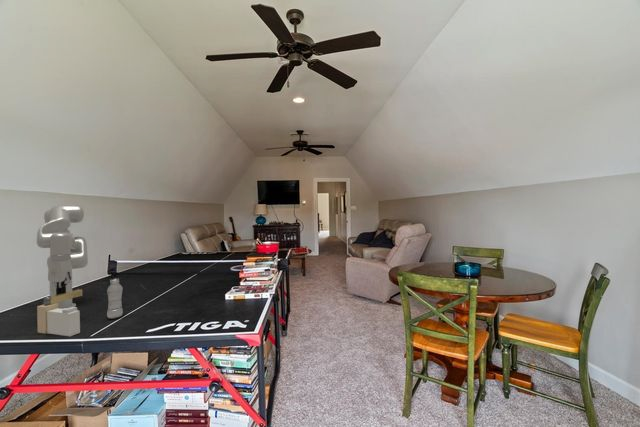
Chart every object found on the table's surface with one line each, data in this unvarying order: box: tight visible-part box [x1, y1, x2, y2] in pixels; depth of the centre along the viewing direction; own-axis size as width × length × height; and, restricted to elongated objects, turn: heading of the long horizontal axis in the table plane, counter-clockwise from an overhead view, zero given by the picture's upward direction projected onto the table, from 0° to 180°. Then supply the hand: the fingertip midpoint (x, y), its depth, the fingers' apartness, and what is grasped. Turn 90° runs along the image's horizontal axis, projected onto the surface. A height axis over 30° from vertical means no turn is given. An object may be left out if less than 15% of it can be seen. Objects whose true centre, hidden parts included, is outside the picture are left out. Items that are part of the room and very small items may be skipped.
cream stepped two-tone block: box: [36, 303, 81, 337], centre depth 127 cm, size 20×5×12 cm, turn 75°
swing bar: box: [43, 289, 84, 305], centre depth 135 cm, size 15×3×3 cm, turn 165°
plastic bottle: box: [106, 277, 124, 320], centre depth 144 cm, size 6×7×20 cm
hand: (61, 294), depth 139 cm, fingers closed
